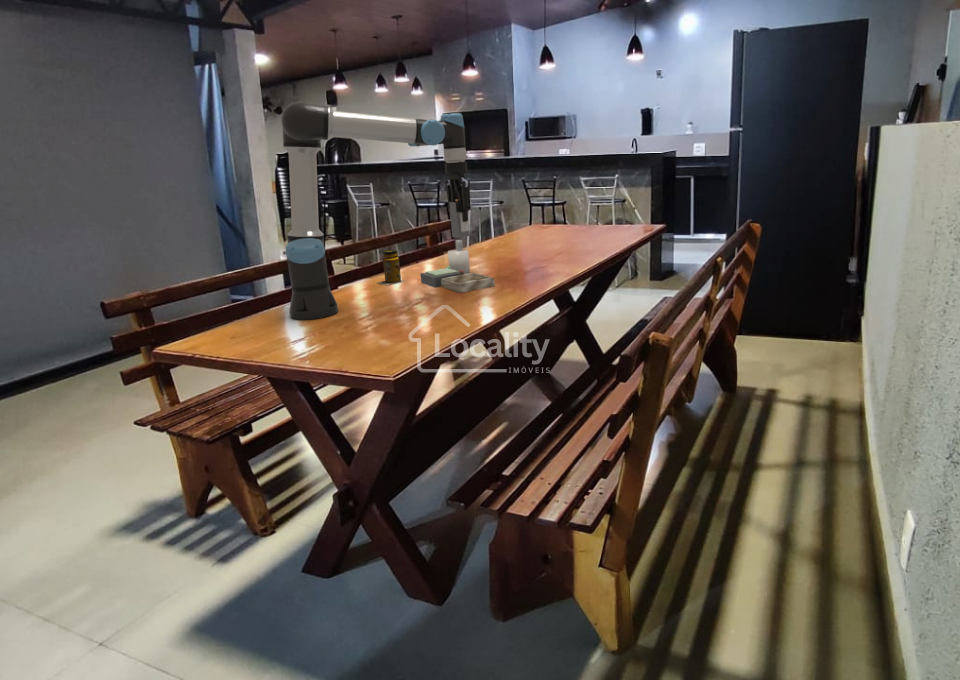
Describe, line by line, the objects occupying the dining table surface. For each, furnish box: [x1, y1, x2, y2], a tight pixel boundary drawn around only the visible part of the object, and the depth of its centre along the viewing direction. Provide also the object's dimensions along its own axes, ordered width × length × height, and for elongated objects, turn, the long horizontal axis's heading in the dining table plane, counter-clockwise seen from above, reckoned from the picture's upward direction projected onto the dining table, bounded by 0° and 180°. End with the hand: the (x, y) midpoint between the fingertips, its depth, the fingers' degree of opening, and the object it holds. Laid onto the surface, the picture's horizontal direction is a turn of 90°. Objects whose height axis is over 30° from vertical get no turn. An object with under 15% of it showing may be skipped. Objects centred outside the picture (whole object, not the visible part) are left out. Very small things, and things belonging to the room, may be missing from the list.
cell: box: [449, 199, 470, 239], centre depth 232 cm, size 4×4×13 cm
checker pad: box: [425, 267, 458, 277], centre depth 248 cm, size 9×9×2 cm
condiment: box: [377, 249, 405, 286], centre depth 254 cm, size 7×8×12 cm
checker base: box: [420, 265, 464, 288], centre depth 248 cm, size 12×12×4 cm
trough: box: [440, 272, 496, 294], centre depth 238 cm, size 14×14×3 cm
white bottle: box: [447, 239, 471, 274], centre depth 260 cm, size 8×8×13 cm
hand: (461, 230), depth 234 cm, fingers closed on cell, 4 cm apart
